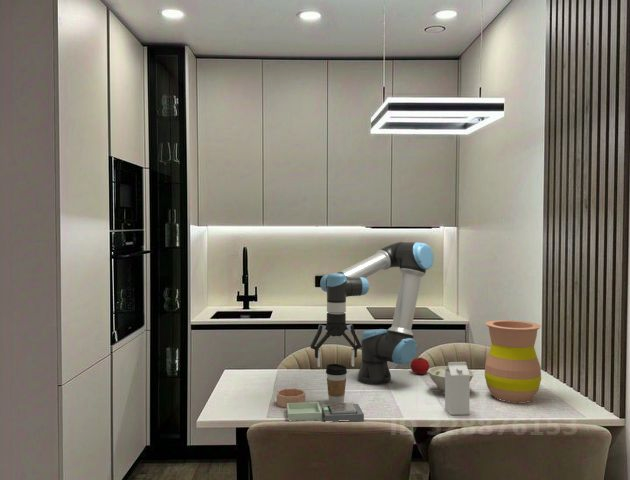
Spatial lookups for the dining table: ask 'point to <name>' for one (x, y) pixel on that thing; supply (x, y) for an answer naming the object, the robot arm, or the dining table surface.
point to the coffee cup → (336, 382)
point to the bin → (290, 397)
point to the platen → (342, 408)
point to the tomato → (419, 366)
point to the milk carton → (457, 388)
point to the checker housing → (336, 417)
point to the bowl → (441, 376)
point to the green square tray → (304, 411)
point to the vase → (513, 361)
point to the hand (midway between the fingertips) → (335, 366)
